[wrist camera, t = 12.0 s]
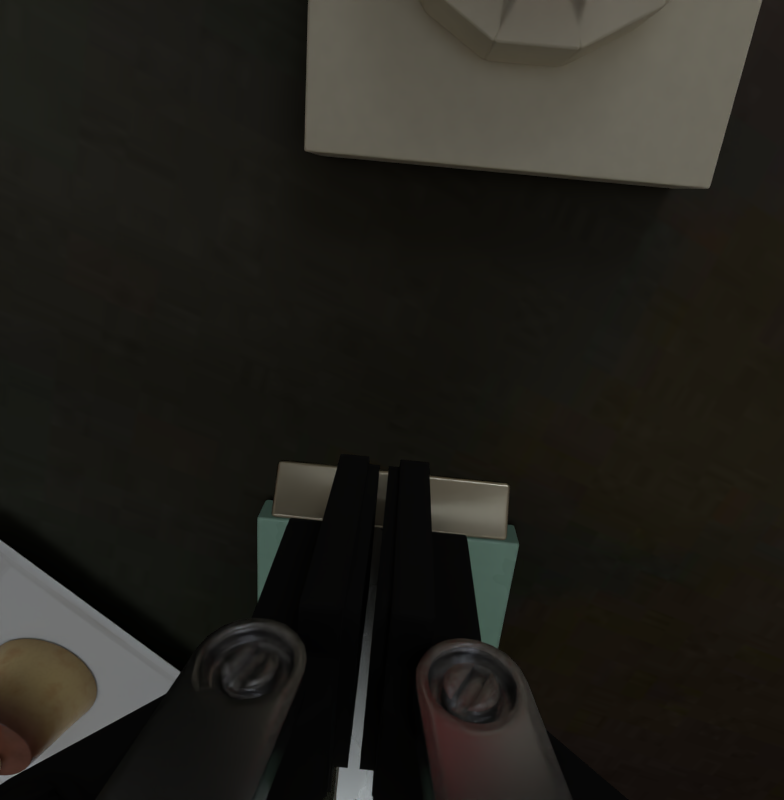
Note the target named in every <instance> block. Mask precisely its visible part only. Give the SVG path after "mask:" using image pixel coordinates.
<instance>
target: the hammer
mask: <svg viewBox="0 0 784 800" xmlns="http://www.w3.org/2000/svg"><path fill="white" fill-rule="evenodd" d="M337 466H338V465H329V464H319V463H309V462H299V461H289V460H280V461H279V462H278V467H277V474H276V482H275V490H274V497H273V505H272V512H271V513H272V516H274V517H281V518H290V519H291V518H300V519H310V520H320V521H322V520H323V516H324V513H325V509H326V506H327V502H328V498H329V495H330V491H331V488H332V484H333V481H334V477H335V473H336V470H337ZM387 481H388V470H379V482H378V493H377V504H376V516H375V527H374V538H373V549H372V561H371V572H370V583H369V593H368V601H367V610H366V618H365V627H364V635H363V644H362V652H361V660H360V669H359V677H358V686H357V694H356V703H355V711H354V719H353V728H352V736H351V745H350V753H349V761H348V768H342V767H337V771H336V780H335V790H334V799H333V800H373V796H372V784H373V771H372V770H362V769H359V768H360V758H361V747H362V737H363V726H364V716H365V705H366V694H367V684H368V673H369V663H370V652H371V642H372V631H373V621H374V611H375V601H376V591H377V581H378V571H379V561H380V551H381V541H382V531H383V521H384V511H385V501H386V491H387ZM430 494H431V519H432V532H442V533H452V534H462V535H466V536H467V537H474V538H484V539H494V540H505V539H506V537H507V527H508V512H509V497H510V485H509V484H508V483H506V482H496V481H486V480H476V479H467V478H457V477H447V476H437V475H430Z"/></svg>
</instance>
